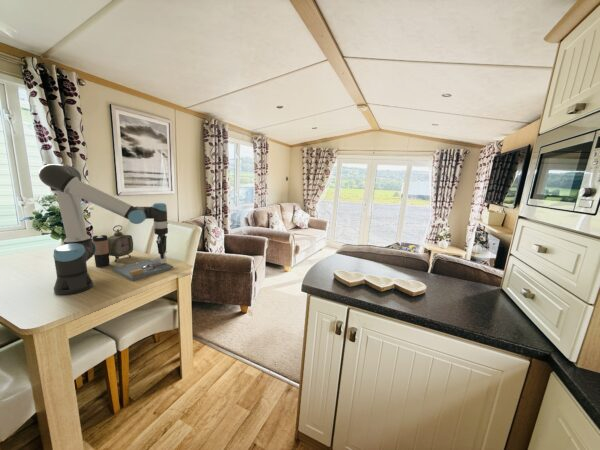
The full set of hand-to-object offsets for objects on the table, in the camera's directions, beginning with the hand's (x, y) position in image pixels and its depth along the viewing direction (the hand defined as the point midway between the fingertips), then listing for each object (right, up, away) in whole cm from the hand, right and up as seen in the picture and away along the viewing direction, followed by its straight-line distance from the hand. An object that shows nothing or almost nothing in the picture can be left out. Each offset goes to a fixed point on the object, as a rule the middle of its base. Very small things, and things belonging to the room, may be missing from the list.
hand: (163, 262), depth 155 cm
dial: (-7, -2, +2) cm, 8 cm away
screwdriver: (-8, -5, -9) cm, 13 cm away
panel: (-13, -5, 0) cm, 14 cm away
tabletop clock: (-41, 0, +16) cm, 44 cm away
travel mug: (-42, -3, +3) cm, 43 cm away
